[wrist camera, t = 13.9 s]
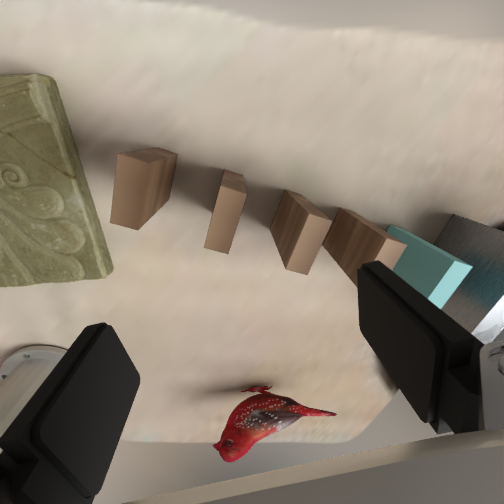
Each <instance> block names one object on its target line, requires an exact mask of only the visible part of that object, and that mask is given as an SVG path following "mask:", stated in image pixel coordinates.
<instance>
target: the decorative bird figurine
mask: <svg viewBox="0 0 504 504" xmlns="http://www.w3.org/2000/svg"><path fill="white" fill-rule="evenodd" d="M266 387H267V388H266ZM271 387H272V386H271ZM271 387H269V388H268V386H264V387H252V388H250V389H248V390H244V391H241V392H246V391H250V392H256V391H257V392H260V393H262V394H257V395H254V396H251V397H249V398H247V399H246V400H244V401H243V402H241V403H240V404H239V405H238V406H237V407H236V408H235V409H234V410H233V412H232V413H231V415H230V417H229V419H228V421H227V424H226V427H225V429H224V431H223V433H222V435H221V440H220V441H219V442H218V443H217V444H214V445H213V447H214V448H215V449H216V450H218V451H219V453H220V456H221V457H222V458H223V460H224V461H226V462H234V461H235V460H237V459H239V458H240V457H242V456H244V455H245V454H246V453H247V452H248V451H249V449H250V448H251V447H252V446H253V445H254V444H255V443H256V442H257V441H259V440H261V439H263V438H264V437H266V436H269V435H271V434H273V433H276V432H278V431H280V430H282V429H284V428H286V427H287V426H289V425H290V424H292V423H294V422H295V421H296V420H298V419H299V418H301V417H303V416H336V415H337V414H336V413H333V412H328V411H324V410H319V409H314V408H308V407H305V406H303V405H301V404H299V403H297V402H296V401H294V400H293V399H291V398H289V397H284V396H279V395H275V394H272V393H270V392H267V391H264V390H269V389H270V388H271Z"/></svg>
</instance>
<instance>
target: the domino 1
mask: <svg viewBox="0 0 504 504" xmlns="http://www.w3.org/2000/svg"><path fill="white" fill-rule="evenodd" d="M177 156H178V154H176V153H173V152H170V151H167V150H164V149H161V148H152V149H145V150H138V151H132V152H125V153H118V155H117V164H116V173H115V182H114V191H113V200H112V209H111V218H110V223H112V224H116V225H120V226H124V227H128V228H131V229H135V230H139V229H140V228H141V227H142V226H143V225H144V224H145V223H146V222H147V221H148V220H149V219H150V218H151V217H152V216H153V215H154V214H155V213H156V212H157V211H158V210H159V209H160V208H161V207H162V206H163V205H164V204H165V203H166V202H167V201H168V200H169V197H170V192H171V187H172V182H173V177H174V171H175V166H176V161H177Z"/></svg>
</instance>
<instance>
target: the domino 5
mask: <svg viewBox="0 0 504 504" xmlns="http://www.w3.org/2000/svg"><path fill="white" fill-rule="evenodd" d="M386 232H387V233H389V234H391V235H392V236H394V237H395V238H397V239H399V240H400V241H402V242H403V243H405V244H407V247H406V248H405V250H404V251H403V253H402V255H401V256H400V258H399V260H398V261H397V263H396V265H395V266H394V268H393V269H392V271H393V272H394V273H396V274H397V275H398V276H399V277H401V278H402V279H403V280H404V281H406V282H407V283H408V284H409V285H411V286H412V287H413V288H414V289H416V290H417V291H418V292H420V293H421V294H422V295H423V296H425V297H426V298H427V299H428V300H430V301H431V302H432V303H433V304H435V305H436V306H437V307H438V308H440V309H441V308H442V307H443V306H444V304H445V303H446V302H447V300H448V299H449V298H450V296H451V295H452V294H453V292H454V291H455V290H456V288H457V287H458V286H459V284H460V283H461V282H462V280H463V279H464V278H465V276H466V275H467V274H468V272H469V271H470V270H471V268H472V267H473V266H471V265H469V264H467V263H465V262H464V261H462V260H460V259H458V258H456V257H454V256H453V255H451V254H449V253H447V252H445V251H443V250H441V249H440V248H438V247H436V246H434V245H432V244H430V243H429V242H427V241H425V240H423V239H421V238H419V237H418V236H416V235H414V234H412V233H410V232H408V231H407V230H405V229H402V228H399V227H396V226H393V225H390V226H389V228H388V229H387V231H386Z"/></svg>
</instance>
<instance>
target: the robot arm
mask: <svg viewBox="0 0 504 504" xmlns="http://www.w3.org/2000/svg"><path fill="white" fill-rule="evenodd" d="M357 285H358V307H359V326H360V330H361V332H362V334H363V336H364V337H365V339H366V340H367V342H368V343H369V345H370V346H371V348H372V349H373V351H374V352H375V353H376V355H377V356H378V358H379V359H380V361H381V362H382V364H383V365H384V367H385V368H386V370H387V371H388V372H389V374H390V375H391V377H392V378H393V380H394V381H395V383H396V384H397V386H398V387H399V389H400V390H401V391H402V393H403V394H404V396H405V397H406V399H407V400H408V402H409V403H410V405H411V406H412V408H413V409H414V410H415V412H416V413H417V415H418V416H419V418H420V419H421V420H422V421H423V422H424V423H428V422H429V423H430V425H431V426H432V427H433V429H434V430H435V432H436V433H437V434H441V433H446V432H451V431H453V432H454V434H453V435H446V436H440V437H435V438H430V439H425V440H419V441H414V442H409V443H404V444H398V445H393V446H388V447H382V448H377V449H373V450H368V451H364V452H359V453H354V454H349V455H344V456H340V457H335V458H330V459H326V460H321V461H316V462H311V463H306V464H302V465H297V466H292V467H287V468H283V469H278V470H273V471H269V472H265V473H260V474H255V475H250V476H246V477H241V478H236V479H232V480H227V481H223V482H219V483H214V484H209V485H204V486H200V487H196V488H191V489H186V490H181V491H177V492H173V493H168V494H163V495H159V496H154V497H150V498H145V499H141V500H136V501H132V502H127V503H123V504H504V341H498V342H497V341H496V342H491V343H488V344H486V345H485V344H483V343H482V342H481V341H480V340H478V339H477V338H476V337H475V336H473V335H472V334H471V333H470V332H468V331H467V330H466V329H465V328H463V327H462V326H461V325H460V324H458V323H457V322H456V321H455V320H453V319H452V318H451V317H450V316H448V315H447V314H446V313H445V312H443V311H442V310H441V309H440V308H438V307H437V306H436V305H435V304H433V303H432V302H431V301H430V300H428V299H427V298H426V297H425V296H423V295H422V294H421V293H420V292H418V291H417V290H416V289H414V288H413V287H412V286H411V285H409V284H408V283H407V282H406V281H404V280H403V279H402V278H401V277H399V276H398V275H397V274H396V273H394V272H393V271H392V270H391V269H389V268H388V267H387V266H386V265H384V264H383V263H382V262H381V261H379V260H376V261H372V262H368V263H363V264H362V265H361V268H359V269H357ZM0 381H1V383H0V504H92V502H93V499H94V497H95V495H96V494H98V493H99V491H100V490H101V487H102V485H103V482H104V480H105V477H106V474H107V471H108V469H109V466H110V463H111V461H112V458H113V455H114V452H115V450H116V447H117V444H118V442H119V439H120V436H121V434H122V431H123V428H124V426H125V423H126V420H127V417H128V415H129V412H130V409H131V407H132V404H133V401H134V398H135V396H136V393H137V390H138V388H139V385H140V375H139V373H138V371H137V370H136V368H135V366H134V364H133V362H132V361H131V359H130V357H129V355H128V354H127V352H126V350H125V348H124V346H123V345H122V343H121V341H120V339H119V338H118V336H117V334H116V332H115V331H114V329H113V327H112V326H111V325H107V324H106V323H98V324H94V325H90V326H87V327H86V328H84V330H83V331H82V332H81V334H80V335H79V336H78V338H77V339H76V340H75V341H74V343H73V344H72V345H71V347H70V348H69V349H68V350H65V349H61V348H58V347H52V346H30V347H26V348H22V349H20V350H18V351H15V352H14V353H13V354H11V355H10V356H9V357H8V358H7V359H6V360H5V361H4V362H3V364H2V366H1V368H0Z"/></svg>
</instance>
